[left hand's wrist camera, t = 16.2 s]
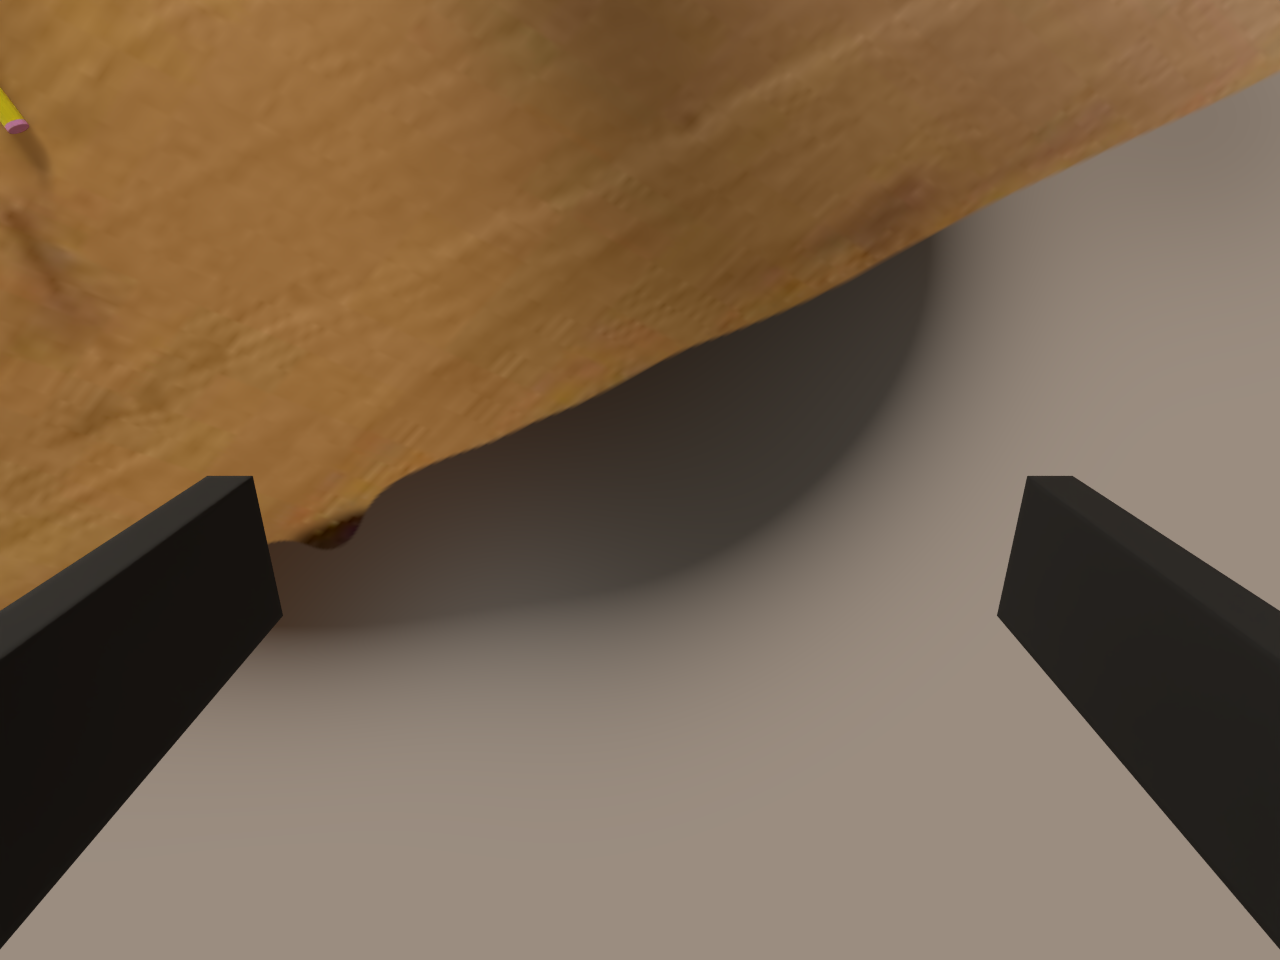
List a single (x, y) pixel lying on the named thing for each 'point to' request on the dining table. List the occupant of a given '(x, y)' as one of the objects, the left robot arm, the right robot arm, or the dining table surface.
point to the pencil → (11, 116)
